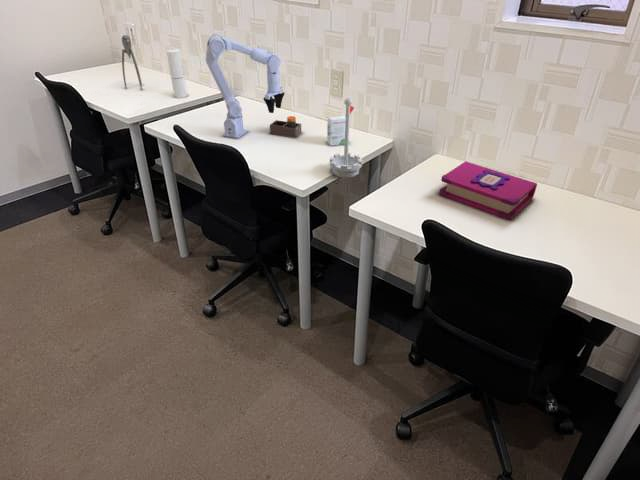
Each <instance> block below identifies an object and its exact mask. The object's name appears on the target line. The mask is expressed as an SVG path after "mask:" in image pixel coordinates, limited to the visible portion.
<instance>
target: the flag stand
mask: <svg viewBox="0 0 640 480" xmlns="http://www.w3.org/2000/svg"><path fill="white" fill-rule="evenodd" d="M343 103H344V105H345V117H346V122H345V144H344V150H343V151H344V153H343V155H341V154H340V153H339V152H337V153H334V154H333V156H329V167H330V168H331V173H332V174H333V175H335V176H337V177H340V178H353V177H356V176H357V175H359V173H360V169H361V168H362V166H363V158H361V156H360V155H359V154H354V155H351V152H349V141H350V120H351V119H350V118H351V114H352V112H353V111H354V109H355V107H354V106H353V105H352V104H353V99H352V97H346V98H345V99H344V102H343Z"/></svg>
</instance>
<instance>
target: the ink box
mask: <svg viewBox="0 0 640 480" xmlns="http://www.w3.org/2000/svg"><path fill="white" fill-rule="evenodd" d="M345 122H346V115H339V116H329V117H327V123H326V124H327V125H326V127H327V132H326V135H327V136H326V143H327V144H328V145H329V146H340V145H345Z"/></svg>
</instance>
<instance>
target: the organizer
mask: <svg viewBox="0 0 640 480" xmlns="http://www.w3.org/2000/svg"><path fill="white" fill-rule="evenodd" d="M269 134H270V135H274V136H281V137H286V138H287V137H288V138H295V139H296V138H297V137H298V136H300V135H301V134H302V123H300V122H296V127H295V128H291V127H287V121H285V120H279V119H276V120H274V121H273V122H271V123H269Z"/></svg>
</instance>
